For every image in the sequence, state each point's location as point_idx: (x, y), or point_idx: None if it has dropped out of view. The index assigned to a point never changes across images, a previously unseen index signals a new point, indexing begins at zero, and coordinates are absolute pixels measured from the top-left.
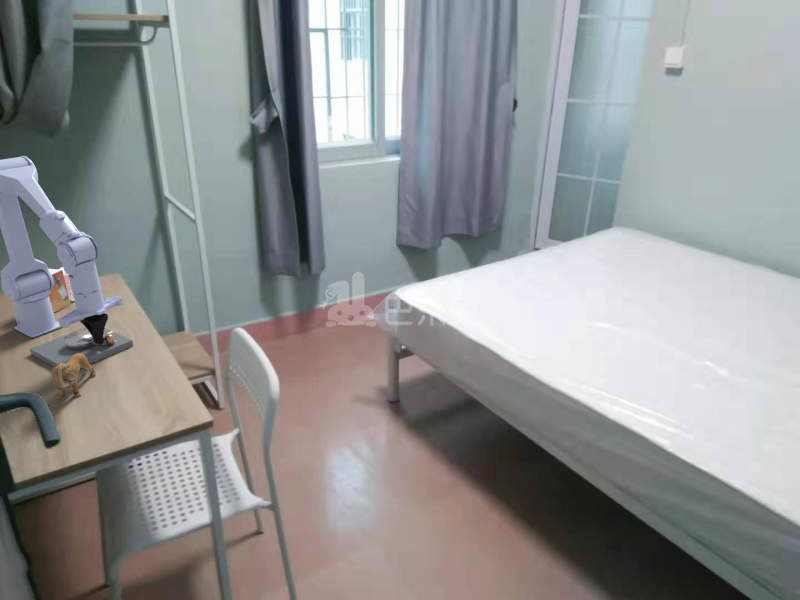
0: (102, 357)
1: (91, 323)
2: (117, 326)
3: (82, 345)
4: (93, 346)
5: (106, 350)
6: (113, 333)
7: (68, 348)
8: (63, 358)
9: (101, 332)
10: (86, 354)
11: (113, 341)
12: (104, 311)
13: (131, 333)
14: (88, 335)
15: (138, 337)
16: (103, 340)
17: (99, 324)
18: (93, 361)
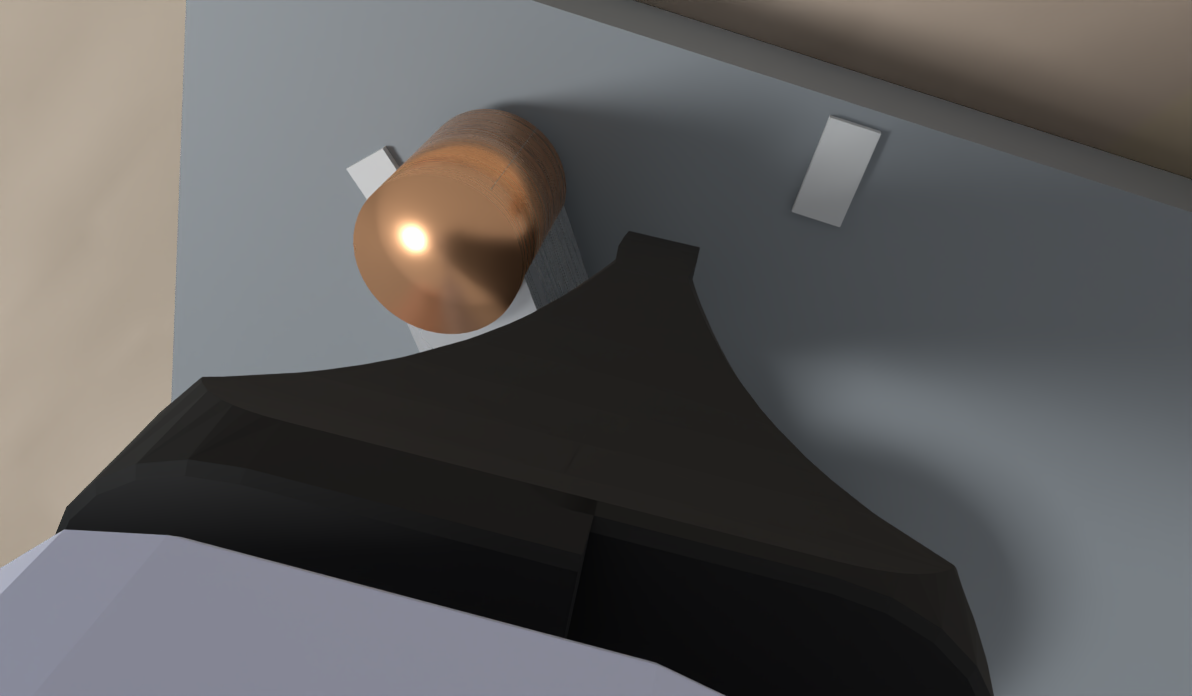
0: (840, 73)
1: (982, 661)
2: (20, 518)
3: None
4: None
5: (713, 88)
6: None
7: None
8: (1139, 572)
9: (611, 323)
10: (945, 330)
11: (459, 128)
12: (131, 649)
13: (15, 228)
14: None
15: (21, 25)
16: (556, 292)
17: (632, 445)
18: (1007, 128)
